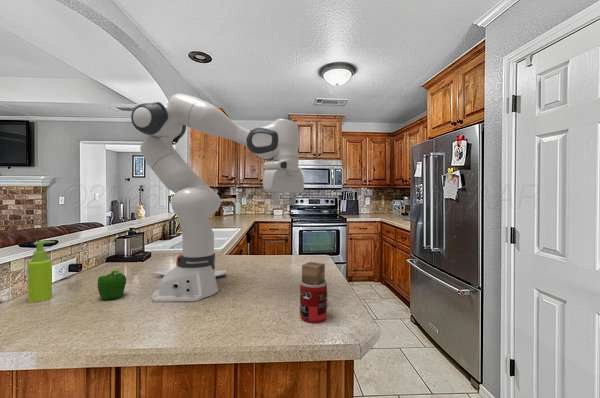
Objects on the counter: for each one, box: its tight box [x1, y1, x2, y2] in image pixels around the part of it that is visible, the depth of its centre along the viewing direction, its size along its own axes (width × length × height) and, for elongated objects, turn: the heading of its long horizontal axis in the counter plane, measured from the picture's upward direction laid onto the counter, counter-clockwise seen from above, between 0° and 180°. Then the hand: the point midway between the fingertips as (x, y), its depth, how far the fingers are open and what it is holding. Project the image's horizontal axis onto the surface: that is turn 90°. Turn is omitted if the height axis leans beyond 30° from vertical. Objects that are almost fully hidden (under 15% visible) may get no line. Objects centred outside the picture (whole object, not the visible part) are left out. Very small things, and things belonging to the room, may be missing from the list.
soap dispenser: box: [27, 240, 56, 303], centre depth 95 cm, size 6×7×20 cm
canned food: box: [299, 279, 328, 324], centre depth 82 cm, size 8×8×11 cm
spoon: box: [150, 266, 228, 278], centre depth 123 cm, size 9×32×4 cm, turn 88°
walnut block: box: [301, 261, 326, 285], centre depth 82 cm, size 5×5×5 cm
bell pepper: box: [97, 269, 127, 301], centre depth 97 cm, size 8×8×10 cm
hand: (284, 205), depth 96 cm, fingers open, 8 cm apart
